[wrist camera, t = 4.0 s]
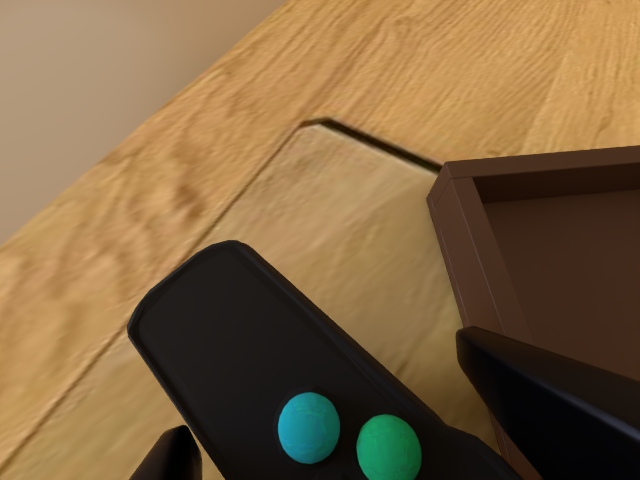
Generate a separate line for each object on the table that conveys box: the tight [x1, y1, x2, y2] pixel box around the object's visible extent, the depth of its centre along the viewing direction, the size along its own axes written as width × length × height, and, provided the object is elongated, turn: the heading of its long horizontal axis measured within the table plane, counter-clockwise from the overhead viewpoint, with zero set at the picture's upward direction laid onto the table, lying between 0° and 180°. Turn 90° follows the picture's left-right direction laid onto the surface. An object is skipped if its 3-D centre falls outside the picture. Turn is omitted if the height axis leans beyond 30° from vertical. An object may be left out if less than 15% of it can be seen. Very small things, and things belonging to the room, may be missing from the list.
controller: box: [127, 240, 524, 480], centre depth 8 cm, size 4×12×10 cm, turn 46°
